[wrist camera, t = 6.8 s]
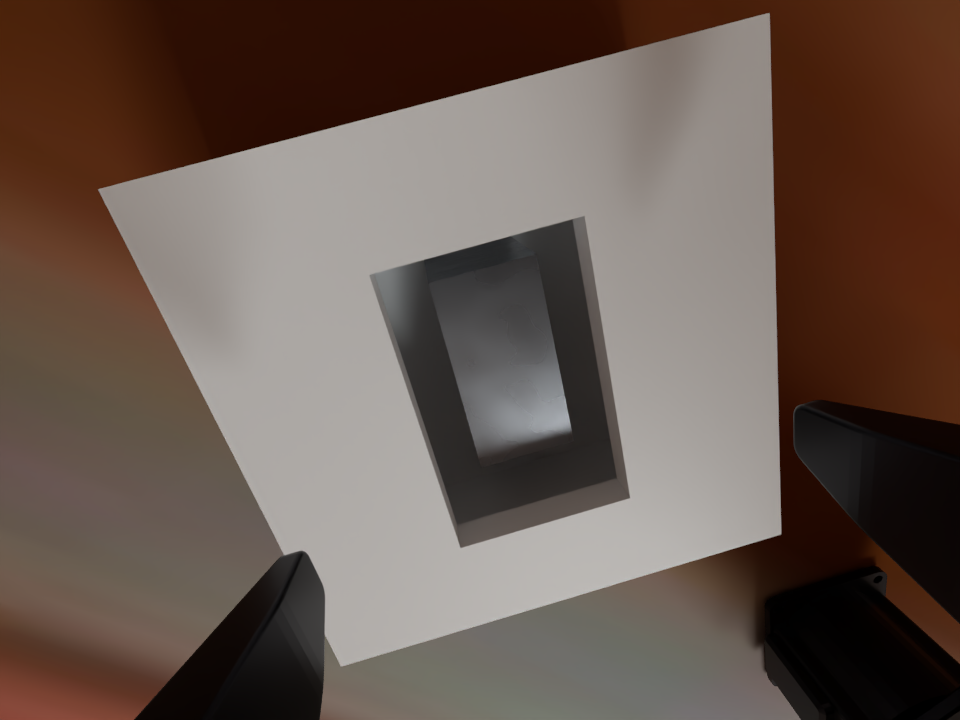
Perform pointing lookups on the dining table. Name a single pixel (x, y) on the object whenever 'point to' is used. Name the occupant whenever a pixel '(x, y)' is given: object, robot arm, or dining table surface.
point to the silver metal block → (501, 348)
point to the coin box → (423, 353)
